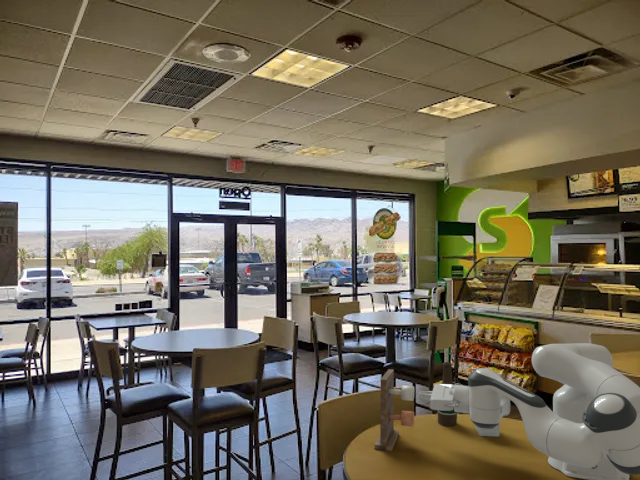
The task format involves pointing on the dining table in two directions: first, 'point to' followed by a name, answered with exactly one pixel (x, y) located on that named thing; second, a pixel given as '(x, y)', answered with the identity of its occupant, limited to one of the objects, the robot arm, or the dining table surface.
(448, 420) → the beer bottle
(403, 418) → the terracotta plug
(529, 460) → the dining table surface
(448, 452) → the dining table surface
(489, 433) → the supplement box
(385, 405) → the plug panel
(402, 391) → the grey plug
